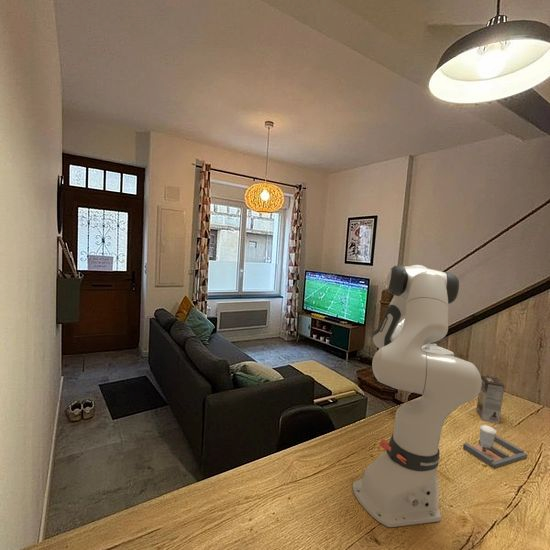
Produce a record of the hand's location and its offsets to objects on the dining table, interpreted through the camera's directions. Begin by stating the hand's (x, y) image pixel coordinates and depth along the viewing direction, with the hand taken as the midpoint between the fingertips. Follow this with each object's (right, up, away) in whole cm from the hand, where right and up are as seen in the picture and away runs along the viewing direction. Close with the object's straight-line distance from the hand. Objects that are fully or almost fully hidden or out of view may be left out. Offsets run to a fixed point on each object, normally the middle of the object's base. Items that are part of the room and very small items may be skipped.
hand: (448, 362), depth 119 cm
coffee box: (+24, -27, +13) cm, 38 cm away
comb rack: (+8, -27, -12) cm, 31 cm away
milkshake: (+5, -27, -14) cm, 30 cm away
